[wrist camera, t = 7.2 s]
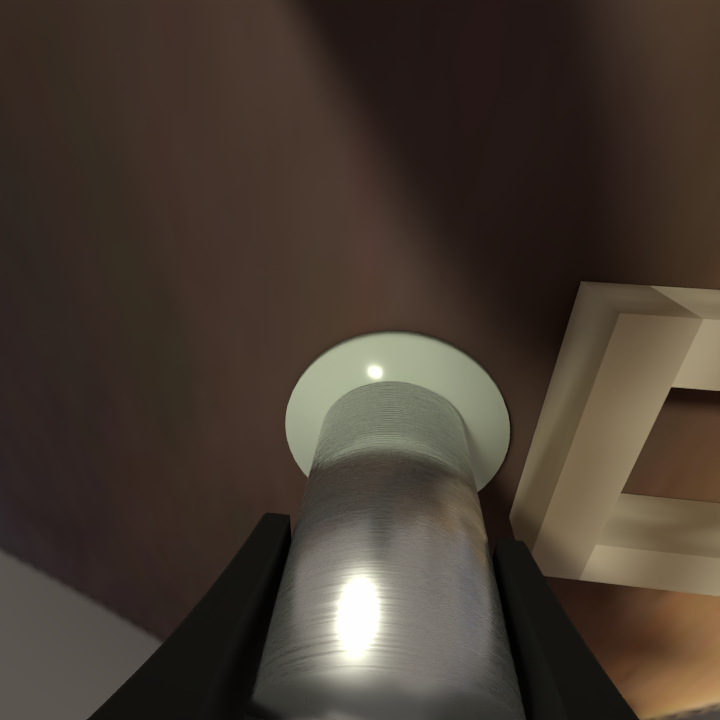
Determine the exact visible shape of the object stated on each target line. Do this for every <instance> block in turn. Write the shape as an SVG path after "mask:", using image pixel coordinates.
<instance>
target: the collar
mask: <svg viewBox="0 0 720 720" xmlns="http://www.w3.org/2000/svg"><path fill="white" fill-rule="evenodd" d="M671 387H678V388H690V389H702V390H715V391H720V290H710V289H695V288H679V287H663V286H648V285H632V284H617V283H601V282H585V281H581V283H580V286H579V290H578V293H577V296H576V299H575V303H574V306H573V309H572V312H571V316H570V319H569V322H568V326H567V329H566V332H565V335H564V339H563V342H562V345H561V348H560V352H559V355H558V358H557V362H556V365H555V368H554V371H553V375H552V378H551V381H550V384H549V388H548V391H547V394H546V397H545V401H544V404H543V407H542V411H541V414H540V417H539V420H538V424H537V427H536V430H535V433H534V437H533V440H532V443H531V446H530V450H529V453H528V456H527V460H526V463H525V466H524V469H523V473H522V476H521V479H520V482H519V486H518V489H517V492H516V496H515V499H514V502H513V505H512V509H511V512H510V515H509V519H510V522H511V526H512V530H513V534H514V537H515V540H518V541H523V542H524V543H525V544H526V545H527V547H528V549H529V551H530V552H531V554H532V556H533V558H534V560H535V561H536V563H537V565H538V567H539V568H540V570H541V572H542V574H543V575H544V576H549V577H558V578H566V579H575V580H584V581H592V582H601V583H609V584H618V585H626V586H635V587H643V588H652V589H660V590H669V591H678V592H686V593H695V594H703V595H712V596H720V503H712V502H702V501H692V500H682V499H672V498H663V497H653V496H643V495H633V494H623V493H621V491H622V489H623V487H624V485H625V483H626V481H627V478H628V476H629V474H630V472H631V470H632V468H633V466H634V464H635V462H636V460H637V458H638V455H639V453H640V451H641V449H642V447H643V445H644V443H645V441H646V439H647V437H648V435H649V432H650V430H651V428H652V426H653V424H654V422H655V420H656V418H657V416H658V414H659V411H660V409H661V407H662V405H663V403H664V401H665V399H666V397H667V395H668V393H669V391H670V388H671Z"/></svg>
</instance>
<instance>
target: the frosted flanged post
mask: <svg viewBox="0 0 720 720" xmlns="http://www.w3.org/2000/svg"><path fill="white" fill-rule="evenodd" d="M245 718H246V720H526V718H525V713H524V709H523V704H522V699H521V695H520V690H519V685H518V680H517V676H516V671H515V666H514V662H513V657H512V652H511V648H510V643H509V638H508V633H507V629H506V624H505V619H504V615H503V610H502V605H501V600H500V596H499V591H498V586H497V582H496V577H495V572H494V567H493V563H492V558H491V553H490V549H489V544H488V539H487V534H486V530H485V525H484V520H483V516H482V511H481V506H480V501H479V497H478V492H477V487H476V483H475V478H474V473H473V469H472V464H471V459H470V454H469V450H468V445H467V440H466V436H465V431H464V426H463V424H462V421H461V419H460V417H459V415H458V413H457V412H456V411H455V409H454V408H453V407H452V406H451V405H450V404H449V403H448V402H447V401H446V400H445V399H444V398H442V397H441V396H440V395H438V394H437V393H435V392H433V391H431V390H429V389H427V388H424V387H422V386H419V385H415V384H411V383H407V382H400V381H383V382H375V383H370V384H366V385H363V386H360V387H357V388H355V389H353V390H351V391H349V392H348V393H346V394H344V395H343V396H342V397H340V398H339V399H338V400H337V401H336V402H335V403H334V404H333V405H332V406H331V407H330V409H329V410H328V412H327V413H326V416H325V418H324V420H323V424H322V427H321V431H320V435H319V439H318V442H317V446H316V450H315V454H314V458H313V461H312V465H311V469H310V473H309V476H308V480H307V484H306V488H305V492H304V495H303V499H302V503H301V507H300V510H299V514H298V518H297V522H296V526H295V529H294V533H293V537H292V541H291V544H290V548H289V552H288V556H287V560H286V563H285V567H284V571H283V575H282V578H281V582H280V586H279V590H278V593H277V597H276V601H275V605H274V609H273V612H272V616H271V620H270V624H269V627H268V631H267V635H266V639H265V643H264V646H263V650H262V654H261V658H260V661H259V665H258V669H257V673H256V677H255V680H254V684H253V688H252V692H251V695H250V699H249V703H248V707H247V711H246V715H245Z"/></svg>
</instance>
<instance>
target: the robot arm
mask: <svg viewBox="0 0 720 720" xmlns="http://www.w3.org/2000/svg"><path fill="white" fill-rule="evenodd" d="M290 544H291V527H290V515H284V514H275V513H266V514H264V515H263V516H262V518H261V519H260V521H259V522H258V524H257V525H256V527H255V528H254V530H253V531H252V533H251V534H250V536H249V537H248V539H247V540H246V542H245V543H244V544H243V546H242V547H241V549H240V550H239V551H238V553H237V554H236V555H235V557H234V558H233V560H232V561H231V562H230V564H229V565H228V566H227V567H226V569H225V570H224V571H223V573H222V574H221V575H220V576H219V578H218V579H217V580H216V582H215V583H214V584H213V585H212V587H211V588H210V589H209V591H208V592H207V593H206V594H205V595H204V597H203V598H202V599H201V600H200V601H199V603H198V604H197V605H196V606H195V607H194V608H193V610H192V611H191V612H190V613H189V614H188V616H187V617H186V618H185V619H184V620H183V621H182V623H181V624H180V625H179V626H178V627H177V628H176V629H175V631H174V632H173V633H172V634H171V635H170V636H169V637H168V638H167V639H166V641H165V642H164V643H163V644H162V645H161V646H160V647H159V648H158V649H157V650H156V651H155V653H154V654H153V655H152V656H151V657H150V658H149V659H148V660H147V661H146V662H145V663H144V664H143V665H142V666H141V667H140V668H139V669H138V670H137V671H136V672H135V673H134V674H133V675H132V676H131V677H130V678H129V679H128V680H127V681H126V682H125V683H124V684H123V685H122V686H121V687H120V688H119V689H118V690H117V691H116V692H115V693H114V694H113V695H112V696H111V697H110V698H109V699H108V700H107V701H106V702H105V703H104V704H103V705H102V706H101V707H100V708H99V709H98V710H97V711H96V712H95V713H93V715H91V717H89V718H88V719H87V720H246V718H245V715H246V711H247V707H248V703H249V699H250V695H251V692H252V688H253V684H254V680H255V677H256V673H257V669H258V665H259V661H260V658H261V654H262V650H263V646H264V643H265V639H266V635H267V631H268V627H269V624H270V620H271V616H272V612H273V609H274V605H275V601H276V597H277V593H278V590H279V586H280V582H281V578H282V575H283V571H284V567H285V563H286V560H287V556H288V552H289V548H290ZM492 563H493V567H494V572H495V577H496V582H497V586H498V591H499V596H500V600H501V605H502V610H503V615H504V619H505V624H506V629H507V633H508V638H509V643H510V648H511V652H512V657H513V662H514V666H515V671H516V676H517V680H518V685H519V690H520V695H521V699H522V704H523V709H524V713H525V718H526V720H639V719H638V717H637V716H636V714H635V713H634V712H633V710H632V709H631V708H630V706H629V705H628V704H627V702H626V701H625V699H624V698H623V697H622V695H621V694H620V693H619V691H618V690H617V688H616V687H615V685H614V684H613V683H612V681H611V680H610V678H609V677H608V675H607V674H606V673H605V671H604V670H603V668H602V667H601V665H600V664H599V663H598V661H597V660H596V658H595V657H594V655H593V654H592V652H591V651H590V649H589V648H588V646H587V645H586V643H585V642H584V640H583V638H582V637H581V635H580V634H579V632H578V631H577V629H576V628H575V626H574V624H573V623H572V621H571V620H570V618H569V617H568V615H567V614H566V612H565V610H564V609H563V607H562V605H561V604H560V602H559V601H558V599H557V597H556V596H555V594H554V592H553V591H552V589H551V587H550V586H549V584H548V582H547V580H546V579H545V577H544V575H543V574H542V572H541V570H540V568H539V567H538V565H537V563H536V561H535V560H534V558H533V556H532V554H531V552H530V551H529V549H528V547H527V545H526V544H525V543H524V542H523V541H518V540H509V539H500V538H498V540H497V544H496V547H495V550H494V554H493V557H492Z"/></svg>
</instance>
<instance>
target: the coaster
mask: <svg viewBox="0 0 720 720" xmlns="http://www.w3.org/2000/svg"><path fill="white" fill-rule="evenodd" d="M383 381H400V382H407V383H411V384H415V385H419V386H422V387H424V388H427V389H429V390H431V391H433V392H435V393H437V394H438V395H440V396H441V397H442V398H444V399H445V400H446V401H447V402H448V403H449V404H450V405H451V406H452V407H453V408H454V409H455V411H456V412H457V413H458V415H459V417H460V419H461V421H462V424H463V426H464V431H465V436H466V440H467V445H468V450H469V454H470V459H471V464H472V469H473V473H474V478H475V483H476V487H477V492H478V491H480V490H481V489H482V488H483V487H484V486H485V485H486V484H487V483H488V482H489V481H490V480H491V479H492V478H493V477H494V475H495V474H496V473H497V471H498V470H499V468H500V466H501V464H502V462H503V461H504V458H505V455H506V453H507V450H508V445H509V439H510V423H509V416H508V412H507V409H506V406H505V403H504V400H503V397H502V395H501V392H500V390H499V388H498V386H497V384H496V382H495V381H494V379H493V378H492V376H491V375H490V374H489V372H488V371H487V370H486V368H485V367H484V366H482V365H481V364H480V363H479V362H478V361H477V360H476V359H475V358H474V357H473V356H471V355H470V354H469V353H467V352H466V351H464V350H463V349H461V348H459V347H457V346H456V345H454V344H452V343H450V342H448V341H445V340H443V339H440V338H438V337H435V336H431V335H427V334H423V333H419V332H411V331H401V330H386V331H377V332H370V333H366V334H361V335H357V336H354V337H352V338H349V339H346V340H343V341H341V342H340V343H338V344H336V345H334V346H332V347H330V348H329V349H327V350H326V351H324V352H323V353H322V354H320V355H319V356H318V357H317V358H316V359H315V360H314V361H313V362H312V363H310V364H309V366H308V367H307V368H306V370H305V371H304V372H303V373H302V375H301V377H300V379H299V380H298V382H297V384H296V386H295V388H294V390H293V393H292V395H291V398H290V401H289V403H288V407H287V412H286V435H287V440H288V444H289V447H290V450H291V452H292V454H293V456H294V459H295V461H296V462H297V464H298V465H299V467H300V468H301V470H302V471H303V472H304V473H305V475H306V476H307V477H308V476H309V473H310V469H311V465H312V461H313V458H314V454H315V450H316V446H317V442H318V439H319V435H320V431H321V427H322V424H323V420H324V418H325V416H326V413H327V412H328V410H329V409H330V407H331V406H332V405H333V404H334V403H335V402H336V401H337V400H338V399H339V398H340V397H342V396H343V395H344V394H346V393H348V392H349V391H351V390H353V389H355V388H357V387H360V386H363V385H366V384H370V383H375V382H383Z"/></svg>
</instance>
